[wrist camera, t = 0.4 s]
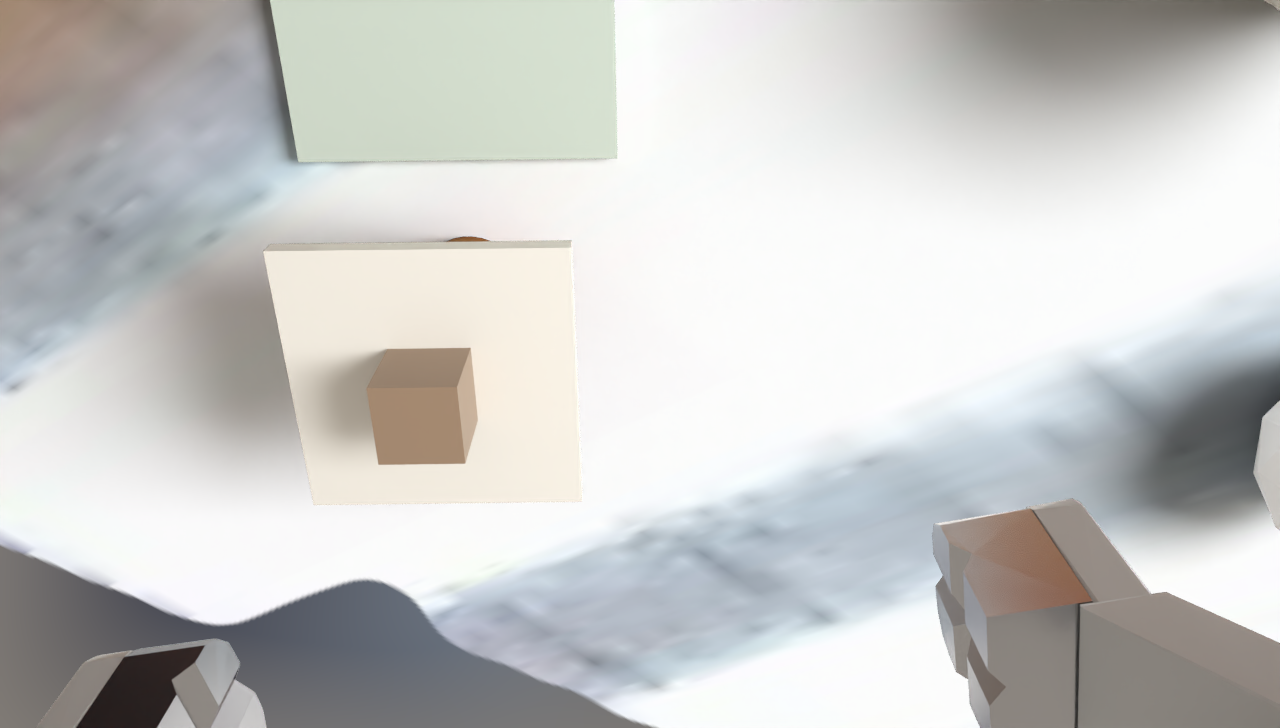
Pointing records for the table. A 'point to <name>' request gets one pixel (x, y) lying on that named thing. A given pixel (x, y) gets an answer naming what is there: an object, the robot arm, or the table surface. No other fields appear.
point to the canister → (1274, 3)
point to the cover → (432, 369)
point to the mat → (449, 79)
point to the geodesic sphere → (1269, 462)
